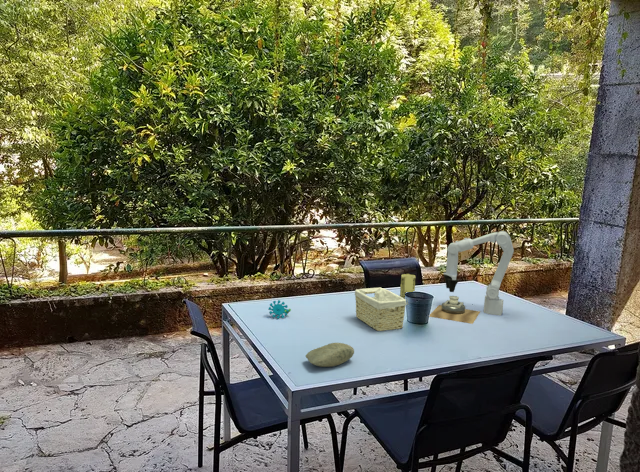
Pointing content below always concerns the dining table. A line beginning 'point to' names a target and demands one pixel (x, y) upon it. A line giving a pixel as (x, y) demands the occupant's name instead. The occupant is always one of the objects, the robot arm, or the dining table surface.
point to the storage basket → (380, 308)
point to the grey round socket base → (453, 308)
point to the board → (456, 315)
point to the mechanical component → (407, 284)
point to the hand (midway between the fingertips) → (450, 290)
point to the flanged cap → (453, 300)
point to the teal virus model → (279, 309)
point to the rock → (330, 354)
